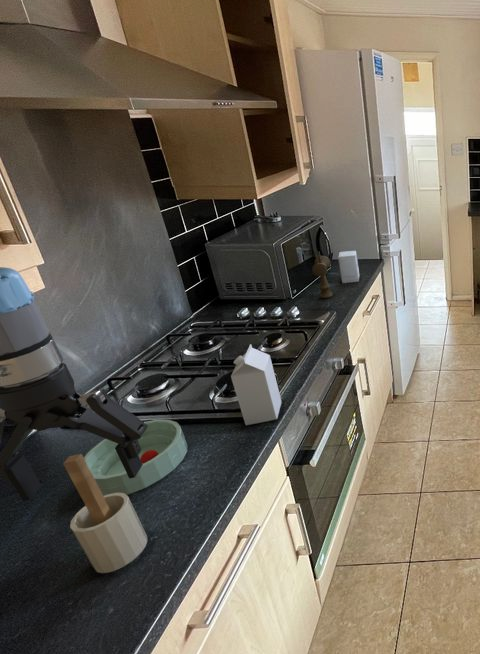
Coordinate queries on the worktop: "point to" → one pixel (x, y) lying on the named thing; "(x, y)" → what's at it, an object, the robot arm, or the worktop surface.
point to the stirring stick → (88, 488)
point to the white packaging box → (348, 266)
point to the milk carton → (256, 387)
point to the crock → (110, 535)
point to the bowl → (156, 437)
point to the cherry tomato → (148, 456)
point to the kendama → (322, 274)
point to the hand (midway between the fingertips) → (85, 482)
